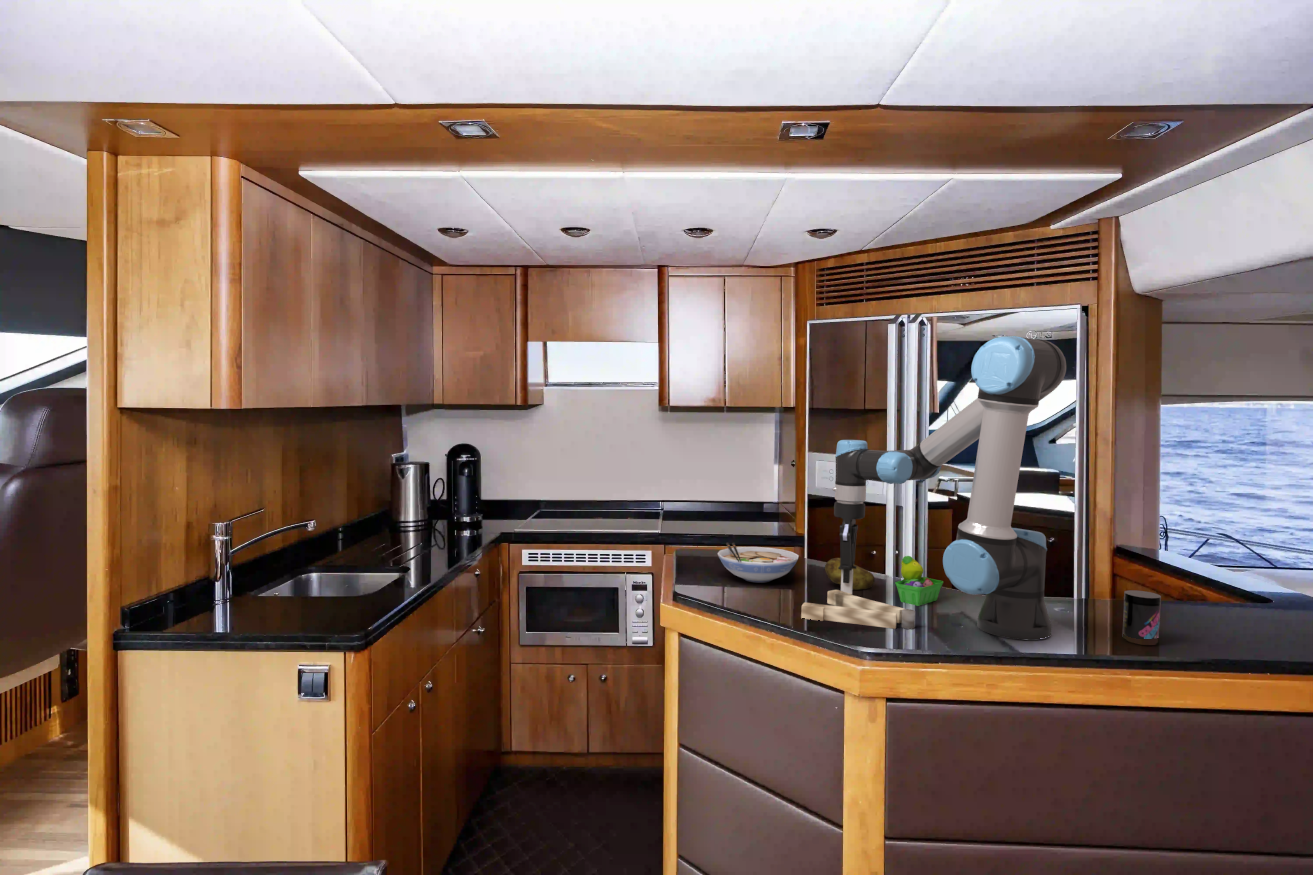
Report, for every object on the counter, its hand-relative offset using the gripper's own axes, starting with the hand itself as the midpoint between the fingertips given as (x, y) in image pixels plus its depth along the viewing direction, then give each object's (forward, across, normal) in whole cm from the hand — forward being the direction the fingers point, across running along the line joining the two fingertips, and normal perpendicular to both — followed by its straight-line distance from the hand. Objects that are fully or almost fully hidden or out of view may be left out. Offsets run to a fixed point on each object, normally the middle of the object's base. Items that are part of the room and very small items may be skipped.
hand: (846, 594), depth 197 cm
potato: (+2, -16, -2) cm, 17 cm away
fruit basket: (+2, -10, +16) cm, 19 cm away
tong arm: (+2, +8, +6) cm, 10 cm away
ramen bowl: (+3, -14, -27) cm, 31 cm away
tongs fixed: (+2, +17, +5) cm, 17 cm away
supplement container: (+2, +5, +63) cm, 63 cm away
